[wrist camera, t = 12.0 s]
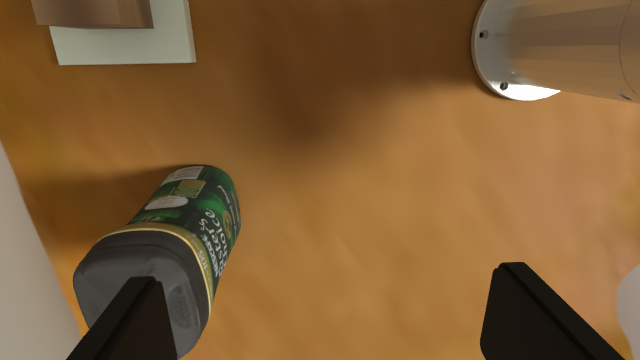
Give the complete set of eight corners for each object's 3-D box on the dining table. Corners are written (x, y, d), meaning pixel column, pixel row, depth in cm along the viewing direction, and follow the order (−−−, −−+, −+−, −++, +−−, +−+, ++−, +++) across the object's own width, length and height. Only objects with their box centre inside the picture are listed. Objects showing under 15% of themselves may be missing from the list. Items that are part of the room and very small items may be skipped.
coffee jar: (248, 237, 41) (207, 376, 24) (181, 244, 41) (89, 388, 23) (234, 158, 37) (173, 253, 20) (160, 166, 37) (35, 267, 20)
